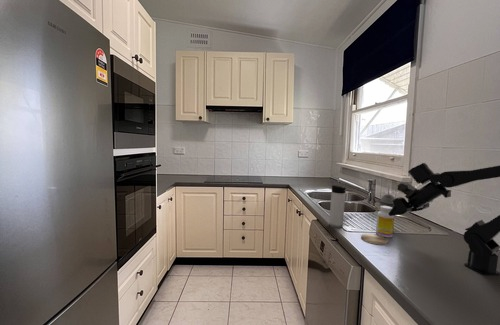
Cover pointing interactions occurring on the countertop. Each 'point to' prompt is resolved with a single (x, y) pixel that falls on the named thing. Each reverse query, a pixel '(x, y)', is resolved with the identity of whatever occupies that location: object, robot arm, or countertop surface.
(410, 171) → the robot arm
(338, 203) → the travel mug
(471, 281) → the countertop surface
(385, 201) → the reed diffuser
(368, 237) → the coaster
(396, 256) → the countertop surface
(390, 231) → the supplement bottle
